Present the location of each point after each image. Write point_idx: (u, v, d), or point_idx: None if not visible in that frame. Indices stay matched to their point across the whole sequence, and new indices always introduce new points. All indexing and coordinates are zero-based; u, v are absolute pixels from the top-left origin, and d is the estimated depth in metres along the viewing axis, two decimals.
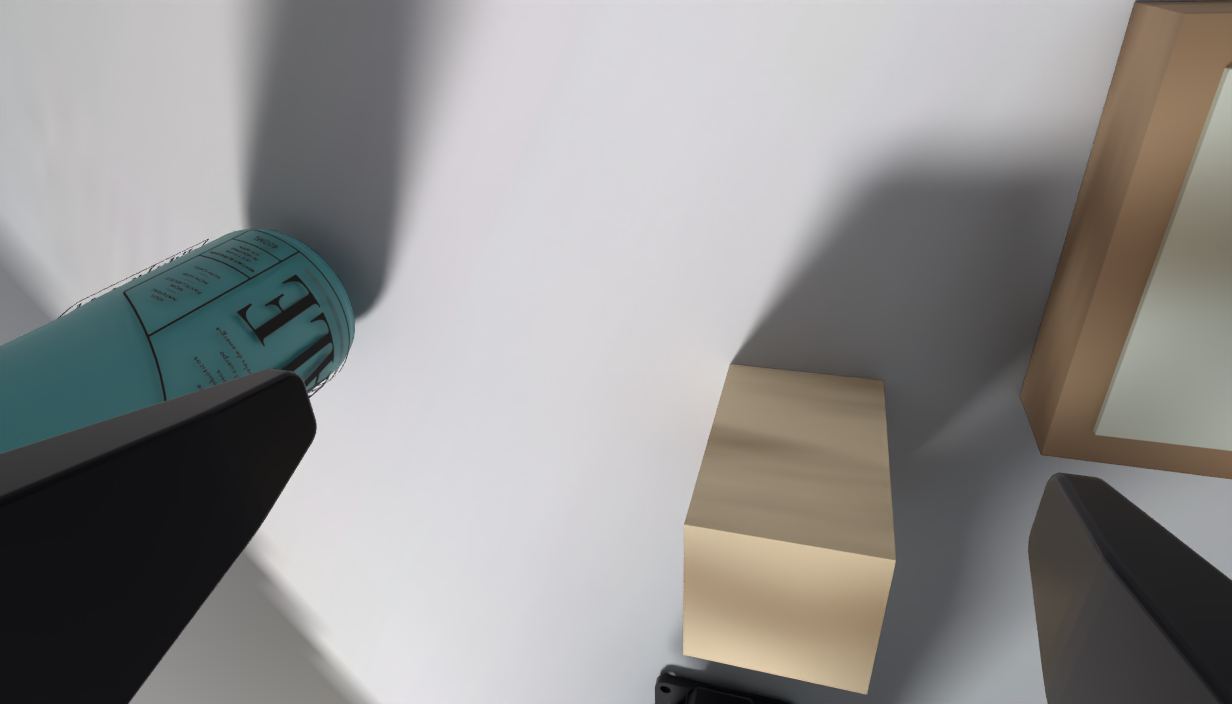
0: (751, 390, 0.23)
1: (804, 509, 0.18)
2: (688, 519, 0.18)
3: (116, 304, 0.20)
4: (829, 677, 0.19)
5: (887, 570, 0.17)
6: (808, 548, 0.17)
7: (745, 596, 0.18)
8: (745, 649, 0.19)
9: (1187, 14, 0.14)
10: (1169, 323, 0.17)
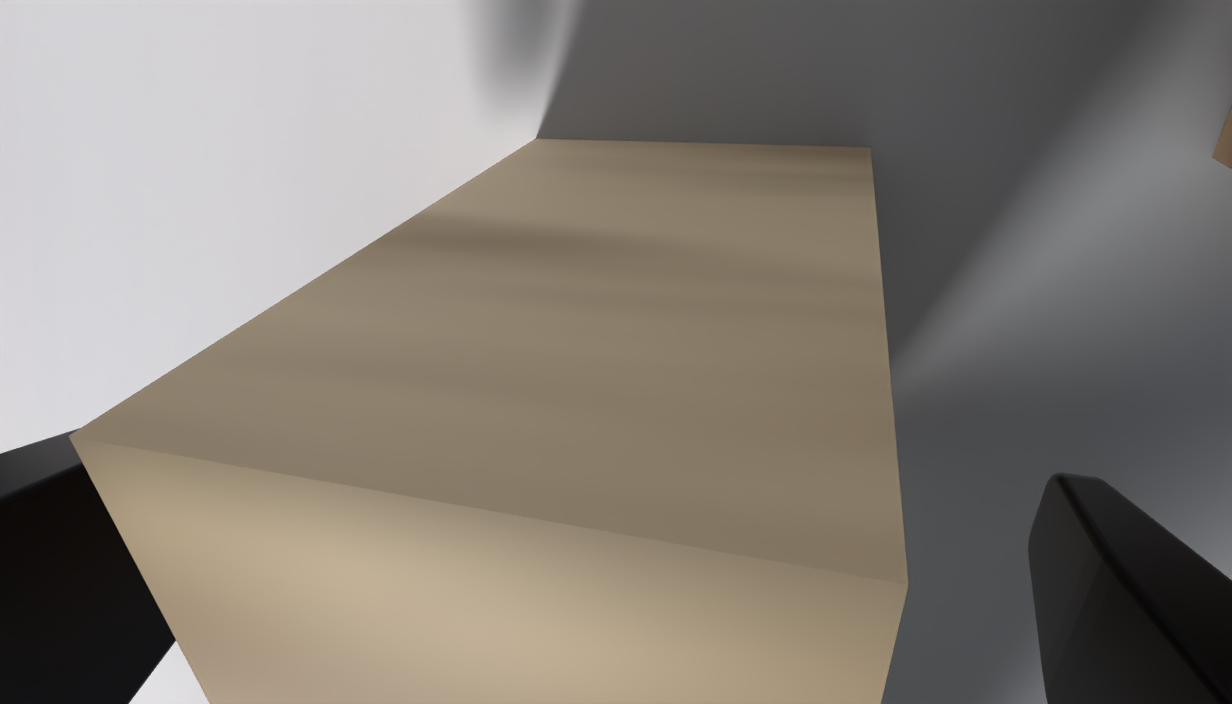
0: (557, 166, 0.10)
1: (559, 384, 0.05)
2: (106, 418, 0.05)
3: None
4: None
5: (865, 633, 0.03)
6: (510, 524, 0.04)
7: None
8: None
9: None
10: None
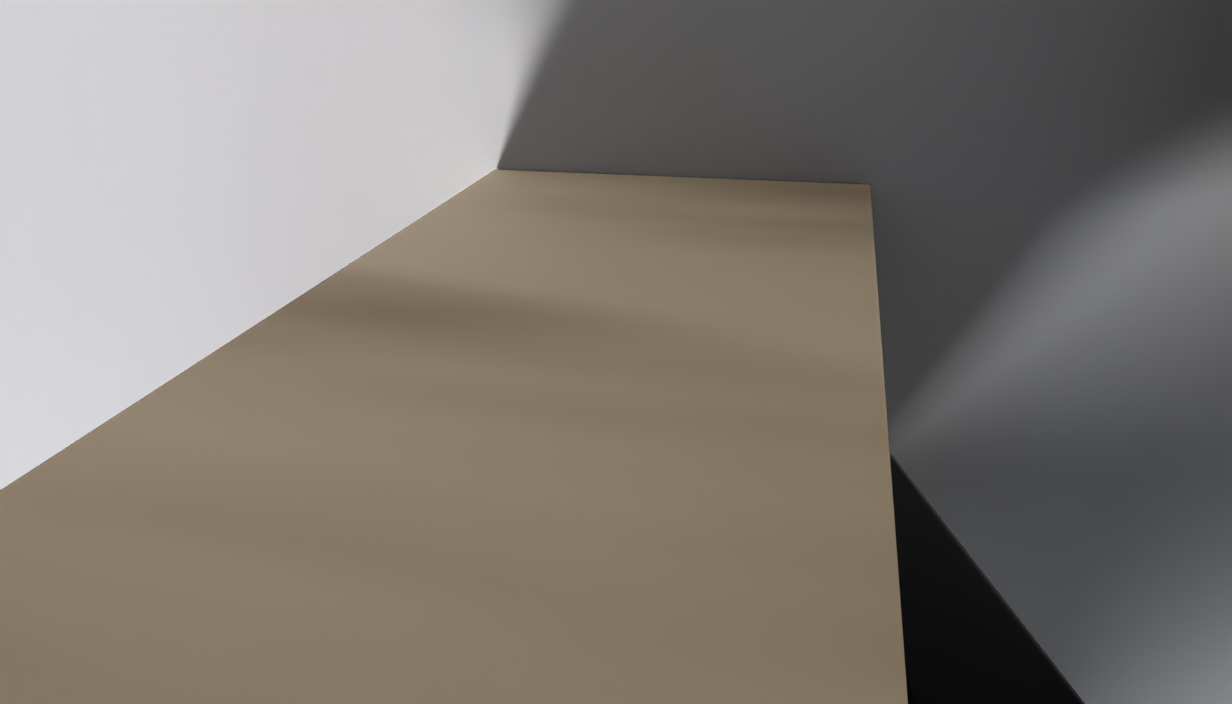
0: (512, 206, 0.08)
1: (456, 551, 0.04)
2: None
3: None
4: None
5: None
6: None
7: None
8: None
9: None
10: None
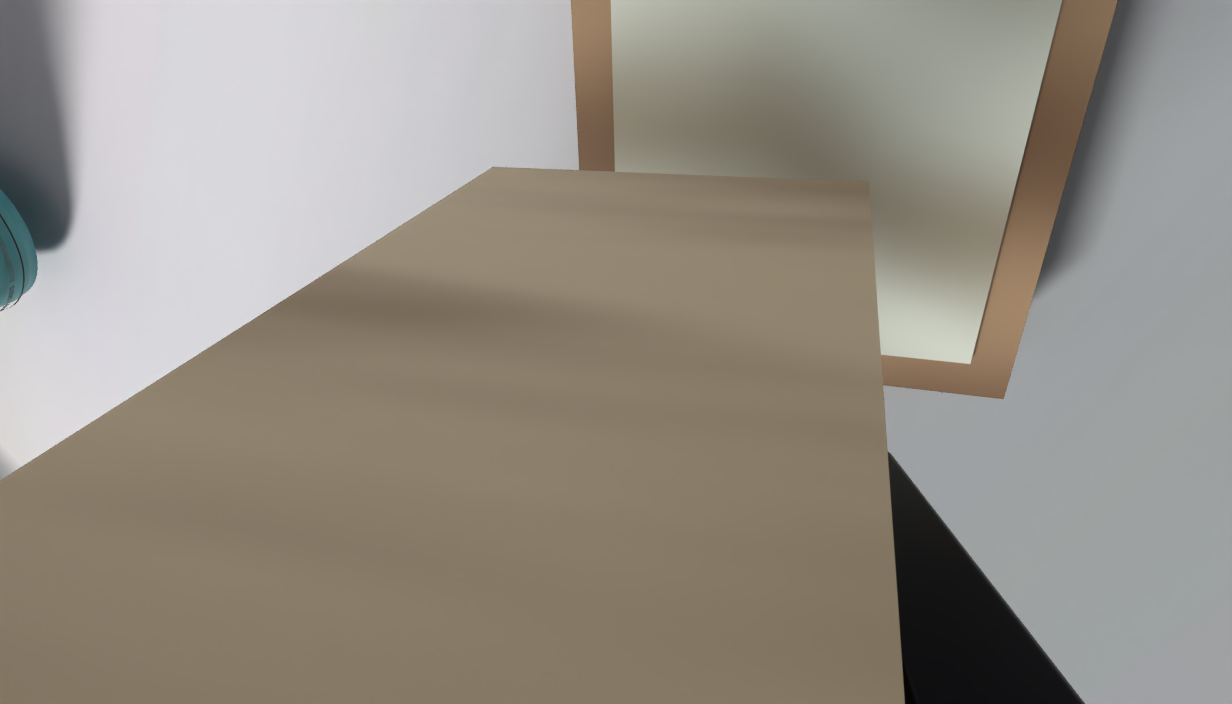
0: (509, 203, 0.08)
1: (448, 549, 0.04)
2: None
3: None
4: None
5: None
6: None
7: None
8: None
9: None
10: None
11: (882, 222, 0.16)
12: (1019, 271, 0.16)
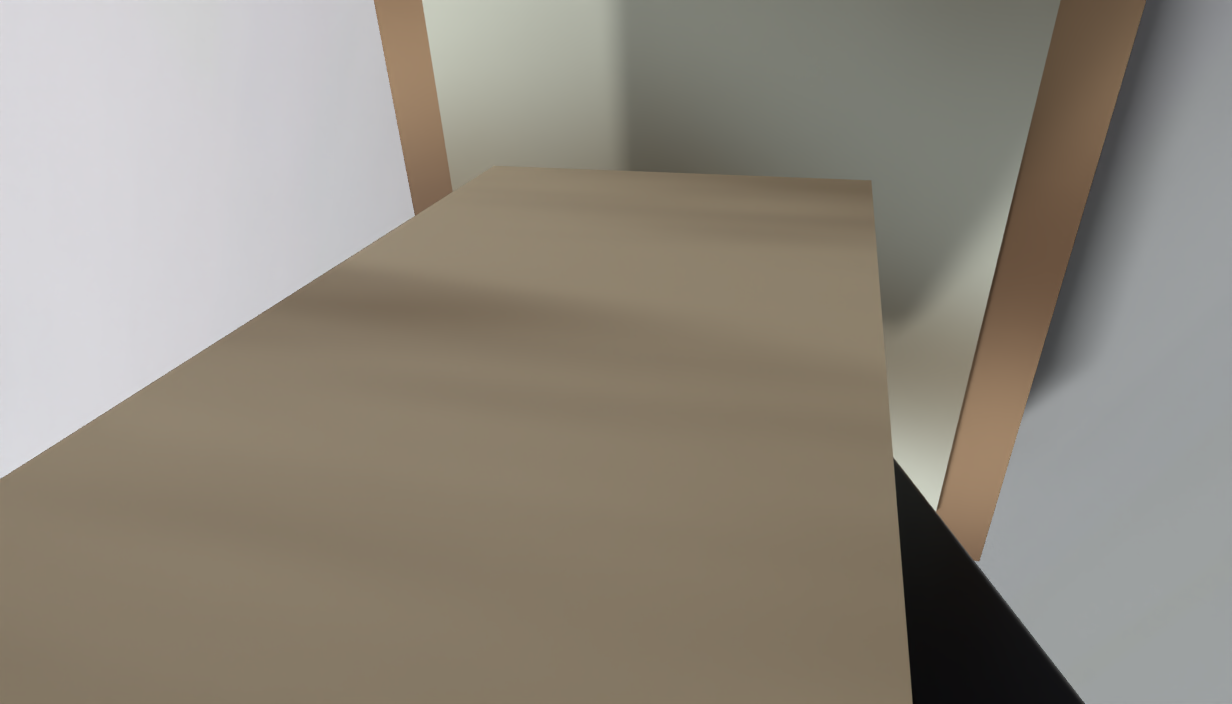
0: (510, 202, 0.08)
1: (451, 549, 0.04)
2: None
3: None
4: None
5: None
6: None
7: None
8: None
9: None
10: None
11: None
12: (995, 412, 0.12)
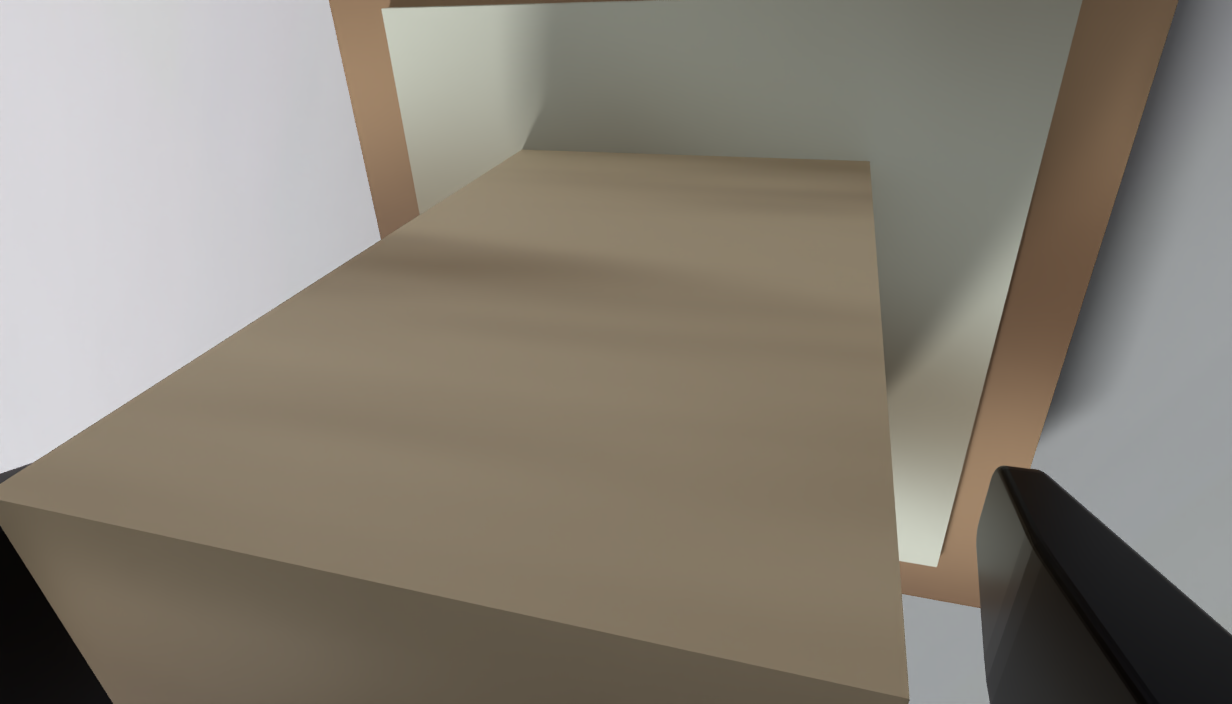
0: (541, 180, 0.09)
1: (526, 437, 0.04)
2: (25, 474, 0.04)
3: None
4: None
5: None
6: (458, 609, 0.03)
7: None
8: None
9: None
10: None
11: None
12: (1003, 454, 0.11)
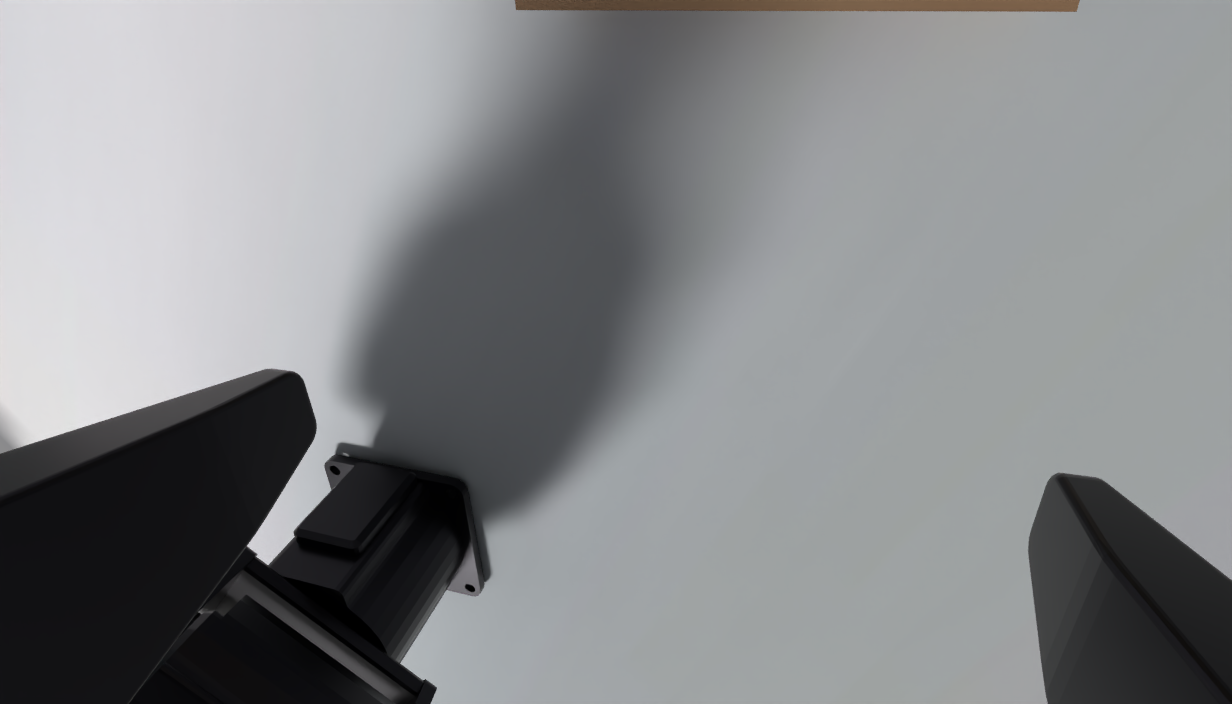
0: None
1: None
2: None
3: None
4: None
5: None
6: None
7: None
8: None
9: None
10: None
11: None
12: None
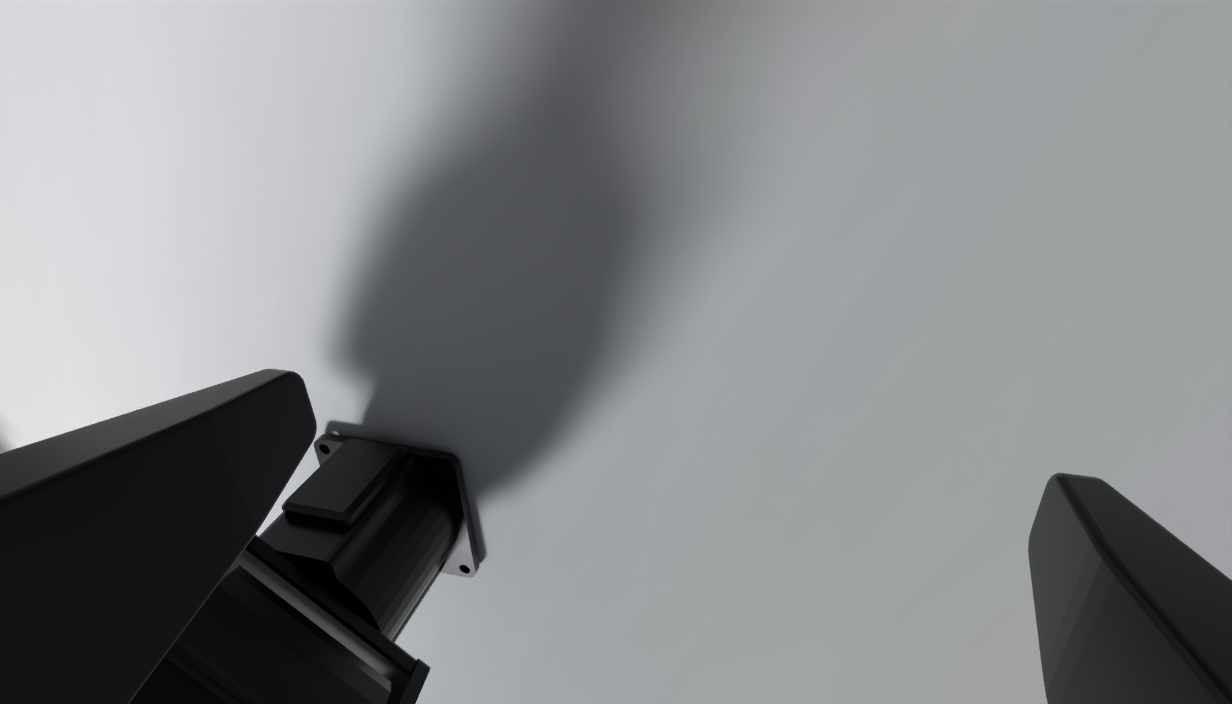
0: None
1: None
2: None
3: None
4: None
5: None
6: None
7: None
8: None
9: None
10: None
11: None
12: None
